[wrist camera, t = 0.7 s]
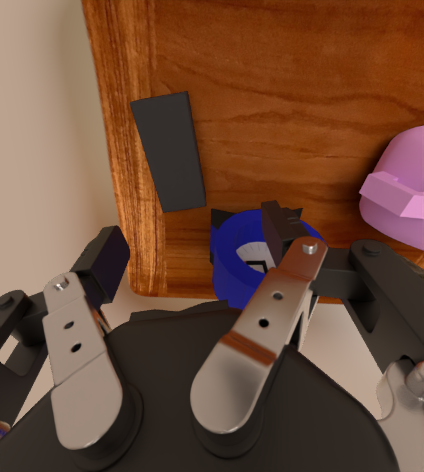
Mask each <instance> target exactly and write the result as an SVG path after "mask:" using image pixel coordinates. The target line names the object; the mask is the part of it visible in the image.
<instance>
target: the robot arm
mask: <svg viewBox="0 0 424 472" xmlns="http://www.w3.org/2000/svg"><path fill="white" fill-rule="evenodd" d="M261 216H262V232H263V236H264V239H265V242H266V244H267V246H268V249H269V251H270V254H271V256H272V259H273V261H274V264H275V266H276V268H275V267H271V268H270V269H269V270H268V272H267V274H266V275H265V277H264V278H263V280H262V281H261V283H260V285H259V286H258V288H257V289H256V291H255V292H254V294H253V296H252V297H251V299H250V300H249V302H248V303H247V305H246V307H245V308H244V310H242V309H239V308H235V307H229V304H228V299H226V300H219V301H212V302H205V303H201V304H198V305H196V306H193V307H190V308H188V309H185V310H182V311H165V310H147V311H140V312H133V313H131V316H130V320H129V321H128V322H126V323H123V324H121V325H120V326H118V327H116V328H115V329H113V330H112V329H111V327H110V325H109V323H108V321H107V319H106V317H105V315H104V313H103V312H102V310H101V309H100V307H101V305H102V304H107V303H112V301H113V299H114V296H115V294H116V291H117V289H118V286H119V284H120V281H121V279H122V276H123V273H124V271H125V268H126V266H127V263H128V261H129V258H130V249H129V246H128V244H127V242H126V240H125V238H124V235H123V233H122V231H121V229H120V227H119V226H117V225H116V226H110V227H104V228H102V230H101V231H100V233H99V234H98V236H97V237H96V238H95V239H93V240H92V241H91V242H90V243H89V244H88V245H87V246H86V248H85V249H84V251H83V252H82V254H81V256H80V257H79V258H78V260H77V261H76V262H75V264H74V265H73V267H72V268H71V270H70V271H69V272H67V273H63V274H60V275H58V276H57V277H55V278H53V279H52V280H51V281H49V282H48V284H47V285H46V286H45V287H44V290H43V292H40V293H37V294H35V295H32V296H29V297H28V296H27V295H26V294H25V293H24V292H23V291H22V290H15V291H11V292H8V293H6V294H4V295H2V296H1V297H0V349H1V347H2V346H3V344H4V343H5V342H6V340H7V339H8V337H9V336H10V335H12V336H13V337H14V338H15V339H17V340H18V341H19V343H18V344H17V346H16V347H15V349H14V350H13V352H12V354H11V355H10V357H9V359H8V360H7V361H6V363H5V365H4V364H2V363H1V362H0V472H424V280H423V279H422V278H421V277H420V276H419V275H418V274H417V273H416V272H415V271H413V270H412V269H411V268H410V267H409V266H408V265H407V264H406V263H405V262H404V261H403V260H402V259H401V258H400V257H399V256H398V255H397V254H396V253H395V252H394V251H393V250H392V249H391V248H390V247H389V246H388V245H386V244H384V243H382V242H379V241H376V240H371V239H361V240H357V241H354V242H353V243H352V244H351V247H350V249H339V248H330V247H328V246H327V244H326V243H325V242H324V241H323V240H321V239H319V238H316V237H312V236H311V235H310V233H309V232H308V230H307V229H306V228H305V226H304V225H303V223H301V221H300V219H299V218H298V216H297V215H296V214H295V212H294V211H292V210H290V209H289V208H280V206H279V204H278V203H277V201H276V200H274V201H267V202H262V203H261ZM319 296H326V297H334V298H340V299H341V300H342V302H343V304H344V306H345V307H346V309H347V311H348V313H349V315H350V316H351V318H352V320H353V322H354V324H355V325H356V327H357V329H358V331H359V333H360V334H361V336H362V338H363V340H364V341H365V343H366V345H367V347H368V349H369V351H370V352H371V354H372V356H373V357H374V359H375V361H376V363H377V365H378V367H379V368H380V370H381V372H382V374H383V376H382V377H381V379H380V381H379V383H378V385H377V388H376V393H377V398H378V401H379V404H380V406H381V410H382V419H380V420H376V419H375V418H374V417H373V415H372V414H371V413H370V412H369V411H368V410H367V409H366V408H365V407H364V406H363V405H362V404H361V403H360V402H359V401H358V400H357V399H356V398H354V397H353V396H352V395H351V394H350V393H348V392H347V391H346V390H345V389H344V388H342V387H341V386H340V385H339V384H337V383H336V382H335V381H334V380H333V379H331V378H330V377H329V376H328V375H327V374H325V373H324V372H323V371H322V370H321V369H319V368H318V367H317V366H316V365H315V364H313V363H312V362H311V361H310V360H308V359H307V358H306V357H305V356H304V355H302V354H301V353H300V351H301V348H302V346H303V342H304V339H305V335H306V331H307V328H308V325H309V322H310V320H311V317H312V313H313V312H314V309H315V306H316V304H317V301H318V298H319ZM48 354H49V359H50V364H51V370H52V375H53V380H54V387H53V388H52V389H51V390H50V391H49V392H47V393H46V395H44V396H43V397H42V398H41V399H40V400H39V401H38V402H37V403H36V404H35V405H34V406H33V407H32V408H31V409H30V410H29V411H28V412H27V413H26V414H25V415H24V416H23V417H22V418H21V419H20V420H19V421H18V422H17V423H16V424H15V425H14V426H13V424H14V422H15V420H16V418H17V416H18V414H19V412H20V410H21V408H22V406H23V404H24V402H25V400H26V398H27V396H28V394H29V392H30V390H31V388H32V386H33V384H34V382H35V380H36V378H37V376H38V374H39V372H40V370H41V368H42V365H43V364H44V362H45V360H46V358H47V355H48ZM12 426H13V427H12Z"/></svg>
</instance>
